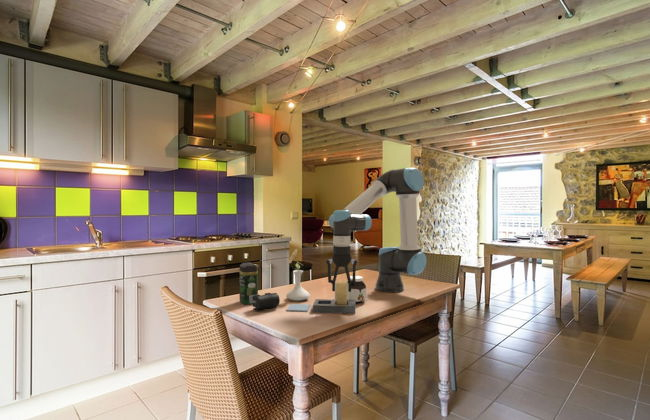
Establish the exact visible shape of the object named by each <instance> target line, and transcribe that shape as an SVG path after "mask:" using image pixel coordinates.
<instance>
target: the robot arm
mask: <svg viewBox="0 0 650 420" xmlns="http://www.w3.org/2000/svg"><path fill="white" fill-rule="evenodd" d="M424 184H425V180H424V176H423V173H422V172H421V170H419V169H418V168H416V167H406V168H405V167H404V168H396V169H390V170H387V171H385V172H383V174H381V175H380V176H379V177H376V179H374V181H372V182H371V185H370V186H369V187H367V189H365V190H364V191H363V192H362V193H360V195H359V196H357V198H355V199H354V200H352V201H351V202H349V204H347V206H345V207H344V208H343V209H340V210H339V209H337V210H334V211H333V214H331V215H330V216H329V218H328V225H329V226H330V228H332V231H333V232H332V233H333V234H332V235H333V238H332V241H333V242H332V243H333V246H332V247H333V249H332V250H333V251H332V254H333V255H332V257H331V258H330V259H329V258H328V259H327V260H326V265H327V282H328V283H329V284H332V285H331V286H332V287H331V288H332V289H331V291H332V292H334V300H336V283H337V276H338V272H339V268H341V267H342V268H344V271H345V275H346V279H347V282H348V283H347V300H348V299H349V292H351V284H353V283H355V276H356V266H357V263H358V260H357V259H354V258H352V256H351V246H350V245H351V237H352V236H351V235H352V234H351V233H352V232H360V231H361V232H364V231H368V230H370V229H371V227H372V225H373V224H372V223H373V221H372V217H371V216H370V215H369V214H364V213H363V212H365V211H366V210H367V209H368V208H369V207H371V206H372V205H373V204H374V203H376V201H377V200H379V199H380V198H381V197H385V196H386V195H388V194H389V193H394V192H395V196H396V197H397V198H398V203H399V206H398V208H399V231H400V232H399V233H400V237H399V238H400V245H399V246H388V247H381V248H379V252H378V276H377V279H376V282H375V290H376V291H379V292H383V293H385V292H386V293H399V292H403V291H404V290H405V289H404V283H403V279H402V277H401V273H402V274H403V273H404V274H408V275H411V276H413V275H414V276H417V275H420V274H421V273H423V272H424V270H425V268H426V266H427V256H426V254H425V253H424V252H422V246H420V245H419V241H418V240H419V238H418V237H419V236H418V211H417V209H418V208H417V207H418V206H417V197H418V196H419V195H420V191H421V190H422V189H423V187H424ZM332 263H334V264H335V270H334V274H333V278H332ZM350 263H351V264H352V276H353V280H351V279H350V276H351V274H350V269H349V264H350Z"/></svg>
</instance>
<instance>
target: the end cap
mask: <svg viewBox="0 0 650 420" xmlns="http://www.w3.org/2000/svg"><path fill="white" fill-rule="evenodd" d="M253 300H254V301H256V303H253V304H252V307H253V308H252V311H255V312H257V313H258V312H263V311H268V310H272V309H276V308H277V307H278V306H280V302H281V301H280V295H279V294H278V293H277V292H274V293H273V292H272V293H271V292H266V293H264V294H261V295H260V294H258V295H254V296H253Z"/></svg>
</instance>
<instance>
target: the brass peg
mask: <svg viewBox="0 0 650 420" xmlns="http://www.w3.org/2000/svg"><path fill="white" fill-rule="evenodd" d="M347 282H348V280H347V281H346V280H336V282H335V283H336V305H347Z"/></svg>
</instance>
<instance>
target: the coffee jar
mask: <svg viewBox="0 0 650 420" xmlns="http://www.w3.org/2000/svg"><path fill="white" fill-rule="evenodd" d="M258 275H259V266H258V265H257V264H254V263H253V262H249V261H248V262H241V264H240V265H239V302H240V303H241V304H243V305H251V306H252V305H253V303H255V304H256V301H254V300H253V296H254V295H259V284H258V278H259V277H258Z"/></svg>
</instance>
